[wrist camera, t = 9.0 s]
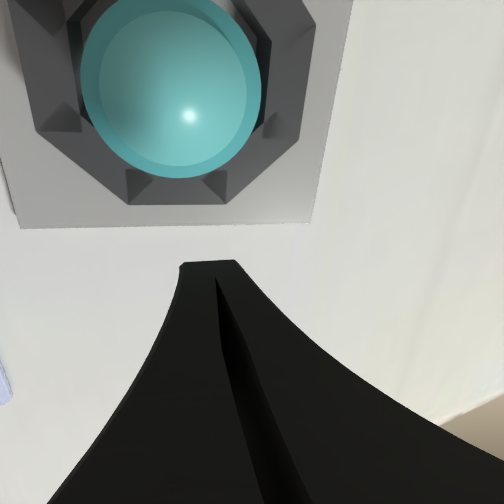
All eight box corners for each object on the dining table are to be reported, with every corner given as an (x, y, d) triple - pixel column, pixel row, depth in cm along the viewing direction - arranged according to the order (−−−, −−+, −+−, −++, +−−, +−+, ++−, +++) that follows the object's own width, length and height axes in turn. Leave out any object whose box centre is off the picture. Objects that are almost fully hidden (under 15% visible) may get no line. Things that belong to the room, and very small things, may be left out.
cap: (114, 136, 16) (96, 184, 11) (93, -10, 13) (58, -22, 8) (232, 135, 16) (258, 179, 12) (235, -1, 14) (269, -7, 9)
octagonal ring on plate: (24, 222, 17) (1, 257, 15) (-100, -242, 10) (-186, -326, 7) (307, 218, 20) (327, 246, 18) (372, -140, 13) (422, -176, 10)
